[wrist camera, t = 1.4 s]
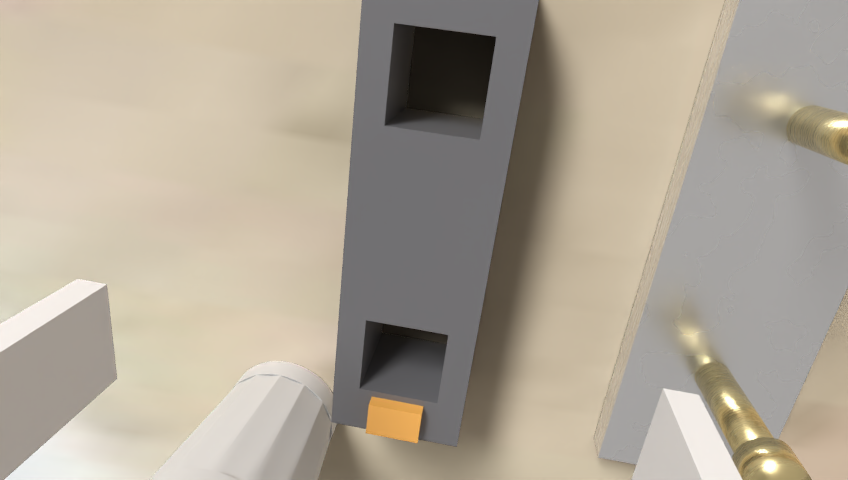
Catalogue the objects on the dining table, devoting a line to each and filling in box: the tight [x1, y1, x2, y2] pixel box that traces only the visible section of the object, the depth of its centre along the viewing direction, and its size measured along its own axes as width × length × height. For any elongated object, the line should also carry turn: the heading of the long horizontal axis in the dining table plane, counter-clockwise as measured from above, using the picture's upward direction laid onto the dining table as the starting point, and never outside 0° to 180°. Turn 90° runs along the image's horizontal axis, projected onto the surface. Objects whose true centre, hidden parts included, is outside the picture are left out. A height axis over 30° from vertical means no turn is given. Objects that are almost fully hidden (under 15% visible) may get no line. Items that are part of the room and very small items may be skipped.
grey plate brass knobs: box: [594, 0, 848, 480], centre depth 22 cm, size 24×8×8 cm, turn 173°
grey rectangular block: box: [331, 0, 539, 447], centre depth 24 cm, size 20×6×6 cm, turn 173°
